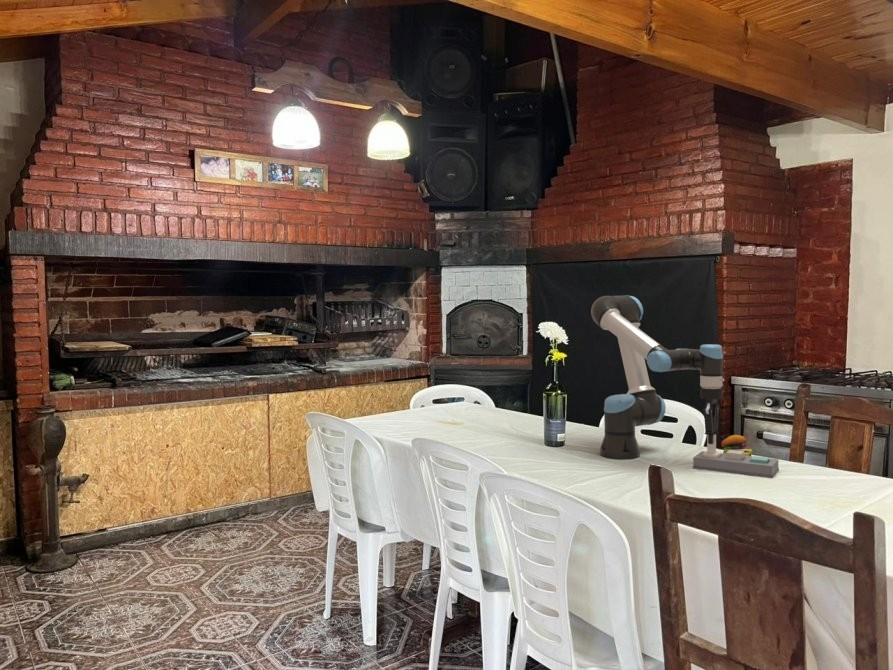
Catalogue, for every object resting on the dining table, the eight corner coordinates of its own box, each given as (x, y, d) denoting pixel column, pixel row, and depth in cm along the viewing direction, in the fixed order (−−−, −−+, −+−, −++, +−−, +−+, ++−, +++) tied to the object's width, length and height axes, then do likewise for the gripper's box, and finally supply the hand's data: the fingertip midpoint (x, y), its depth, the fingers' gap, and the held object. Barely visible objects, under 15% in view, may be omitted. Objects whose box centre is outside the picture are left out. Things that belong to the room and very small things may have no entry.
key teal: (750, 468, 229) (750, 458, 229) (753, 465, 233) (753, 456, 233) (766, 470, 226) (766, 460, 226) (769, 467, 230) (769, 457, 230)
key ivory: (702, 463, 238) (702, 453, 238) (706, 460, 243) (706, 451, 242) (717, 465, 236) (717, 455, 235) (720, 462, 240) (720, 452, 239)
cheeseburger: (736, 462, 244) (731, 435, 246) (717, 463, 254) (713, 437, 256) (759, 459, 247) (754, 433, 249) (739, 460, 257) (735, 434, 259)
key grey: (726, 462, 234) (726, 452, 234) (729, 459, 238) (729, 449, 238) (741, 463, 231) (741, 454, 231) (744, 461, 235) (744, 451, 235)
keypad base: (692, 468, 237) (692, 457, 237) (701, 461, 247) (701, 451, 247) (772, 478, 222) (772, 466, 222) (778, 470, 232) (778, 459, 232)
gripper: (717, 390, 230) (718, 457, 231) (726, 386, 241) (726, 450, 242) (695, 388, 235) (695, 454, 236) (705, 384, 245) (705, 447, 246)
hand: (711, 452), depth 239 cm, fingers closed
